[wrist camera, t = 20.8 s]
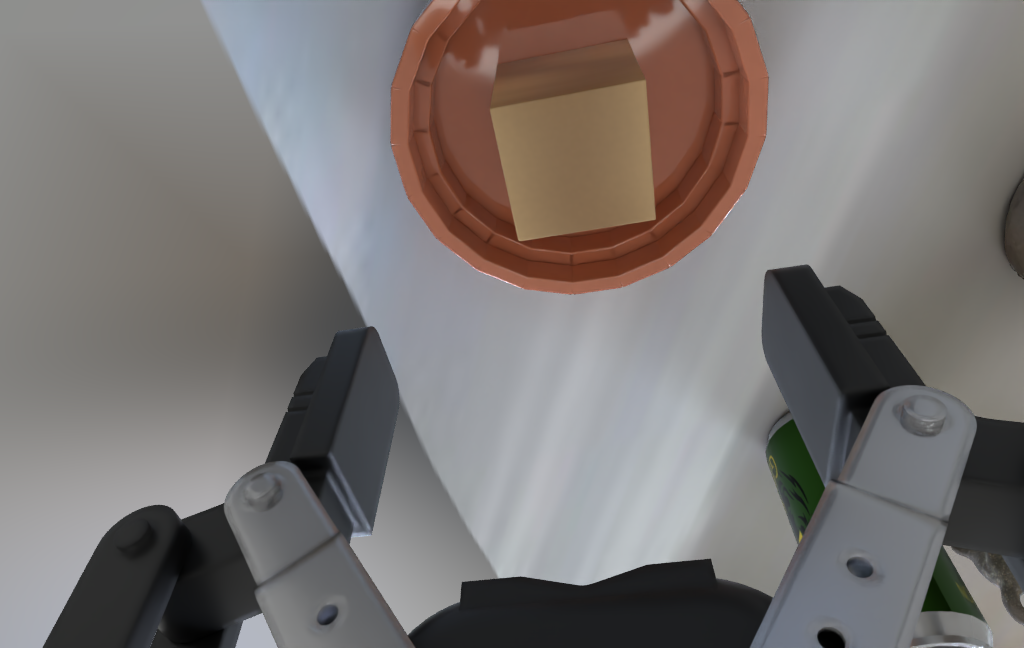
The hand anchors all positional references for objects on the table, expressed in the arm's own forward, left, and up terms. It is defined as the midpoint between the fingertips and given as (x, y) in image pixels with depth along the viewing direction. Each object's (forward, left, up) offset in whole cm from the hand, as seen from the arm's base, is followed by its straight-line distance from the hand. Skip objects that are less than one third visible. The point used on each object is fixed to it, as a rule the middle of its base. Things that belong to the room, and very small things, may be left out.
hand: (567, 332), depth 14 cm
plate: (+1, 0, -13) cm, 13 cm away
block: (+1, 0, -13) cm, 13 cm away
